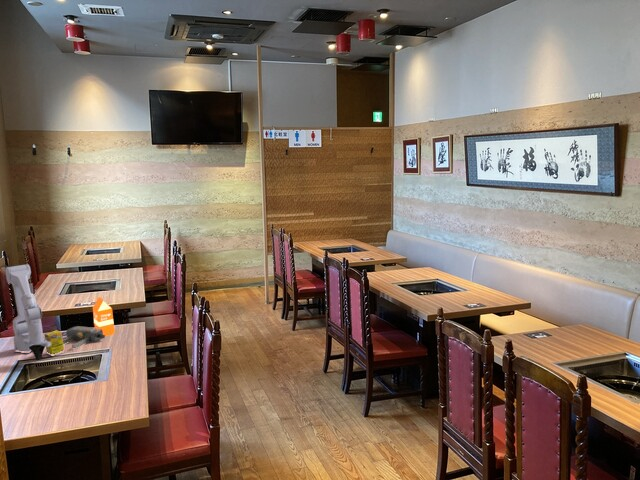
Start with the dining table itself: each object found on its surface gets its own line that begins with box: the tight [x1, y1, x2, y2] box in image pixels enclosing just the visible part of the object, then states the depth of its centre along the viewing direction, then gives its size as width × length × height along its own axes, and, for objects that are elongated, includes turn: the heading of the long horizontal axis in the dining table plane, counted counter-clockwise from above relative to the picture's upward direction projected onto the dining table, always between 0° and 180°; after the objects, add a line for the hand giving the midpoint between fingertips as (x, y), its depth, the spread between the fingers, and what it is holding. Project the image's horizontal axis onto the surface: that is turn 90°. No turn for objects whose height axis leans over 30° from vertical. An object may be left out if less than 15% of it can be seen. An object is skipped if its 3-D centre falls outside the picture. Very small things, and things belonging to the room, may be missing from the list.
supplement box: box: [44, 329, 65, 354], centre depth 244 cm, size 6×6×11 cm
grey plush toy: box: [63, 325, 106, 349], centre depth 258 cm, size 21×17×6 cm
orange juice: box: [92, 296, 115, 337], centre depth 269 cm, size 8×9×20 cm
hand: (39, 359), depth 236 cm, fingers closed
